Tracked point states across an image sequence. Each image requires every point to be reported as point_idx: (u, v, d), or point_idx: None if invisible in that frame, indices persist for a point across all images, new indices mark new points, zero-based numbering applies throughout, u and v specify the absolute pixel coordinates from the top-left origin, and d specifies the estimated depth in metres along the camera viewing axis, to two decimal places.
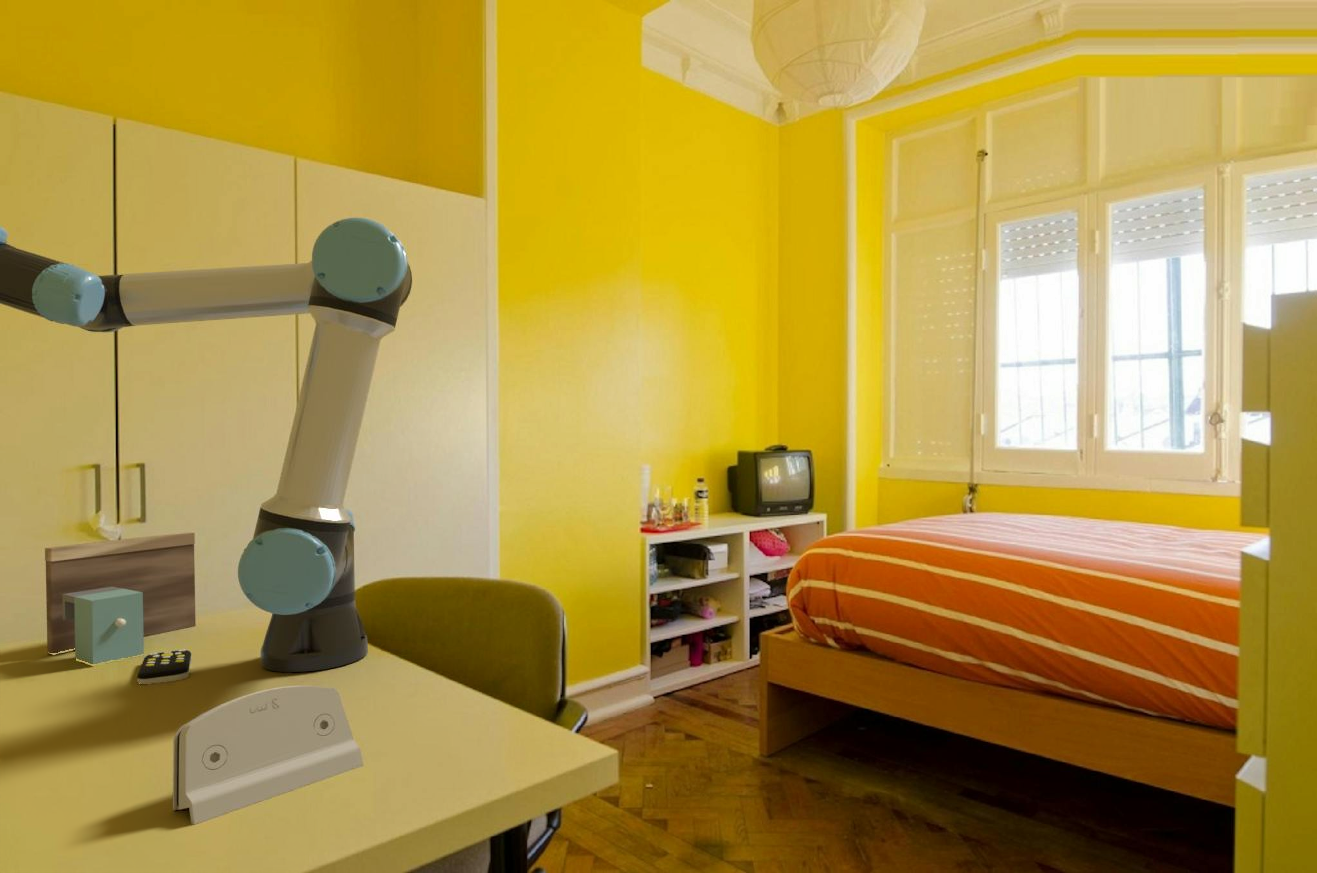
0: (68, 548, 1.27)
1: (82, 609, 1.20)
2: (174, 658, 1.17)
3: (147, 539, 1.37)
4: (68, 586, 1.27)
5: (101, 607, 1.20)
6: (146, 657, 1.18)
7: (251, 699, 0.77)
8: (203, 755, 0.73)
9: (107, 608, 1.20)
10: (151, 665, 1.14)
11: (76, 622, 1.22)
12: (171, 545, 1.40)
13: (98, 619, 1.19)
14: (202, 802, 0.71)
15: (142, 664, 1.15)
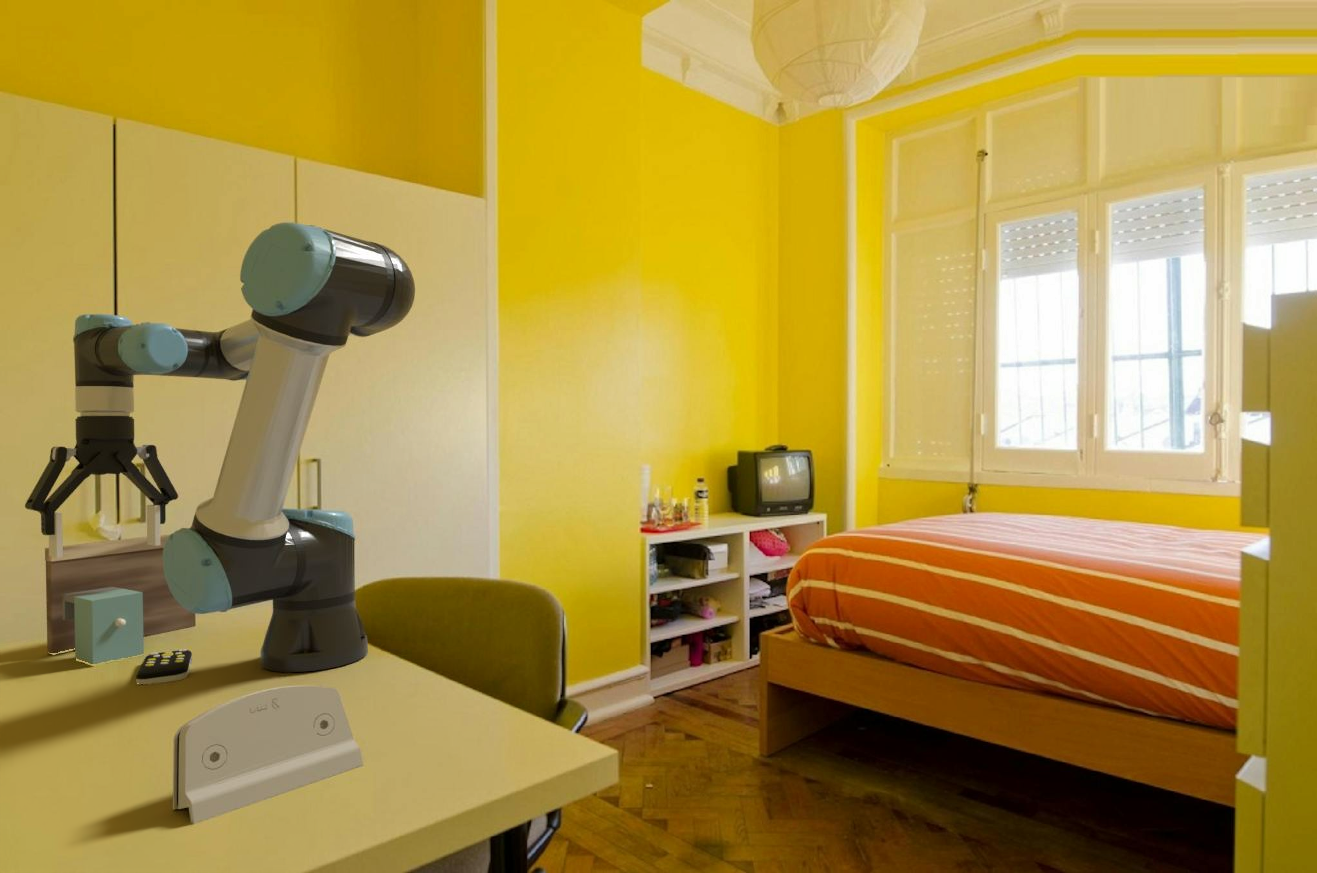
0: (68, 548, 1.27)
1: (82, 609, 1.20)
2: (174, 658, 1.17)
3: None
4: (68, 586, 1.27)
5: (101, 607, 1.20)
6: (147, 657, 1.18)
7: (251, 699, 0.77)
8: (202, 755, 0.73)
9: (107, 608, 1.20)
10: (150, 665, 1.14)
11: (76, 622, 1.22)
12: None
13: (98, 619, 1.19)
14: (202, 802, 0.71)
15: (142, 664, 1.15)
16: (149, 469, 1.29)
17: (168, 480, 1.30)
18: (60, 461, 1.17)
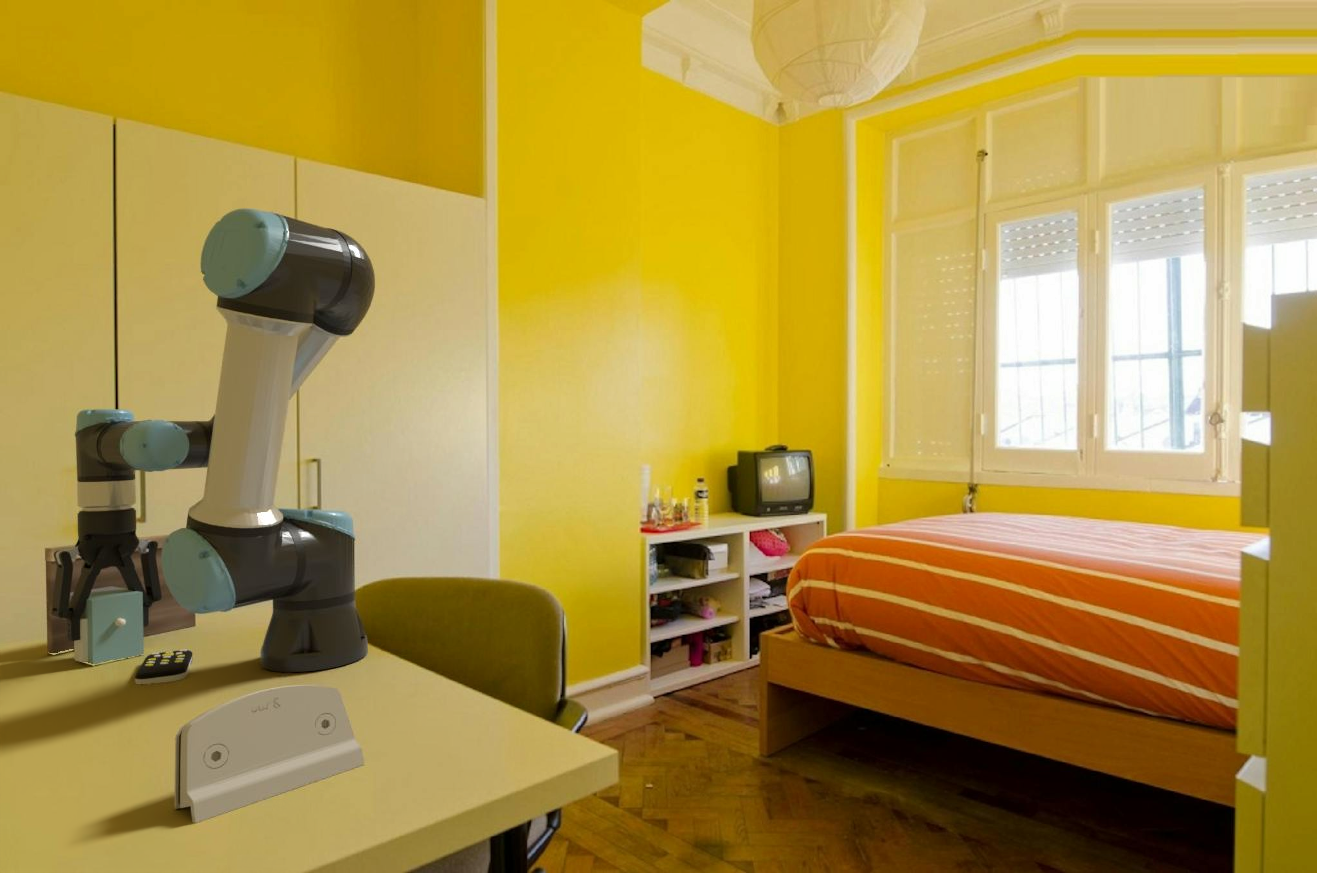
0: (68, 548, 1.27)
1: None
2: (174, 658, 1.17)
3: (147, 539, 1.37)
4: None
5: (101, 607, 1.20)
6: (147, 657, 1.18)
7: (252, 698, 0.78)
8: (204, 754, 0.73)
9: (107, 608, 1.20)
10: (150, 665, 1.14)
11: None
12: None
13: (98, 619, 1.19)
14: (203, 801, 0.71)
15: (142, 664, 1.15)
16: (143, 565, 1.28)
17: (157, 580, 1.28)
18: (67, 566, 1.18)
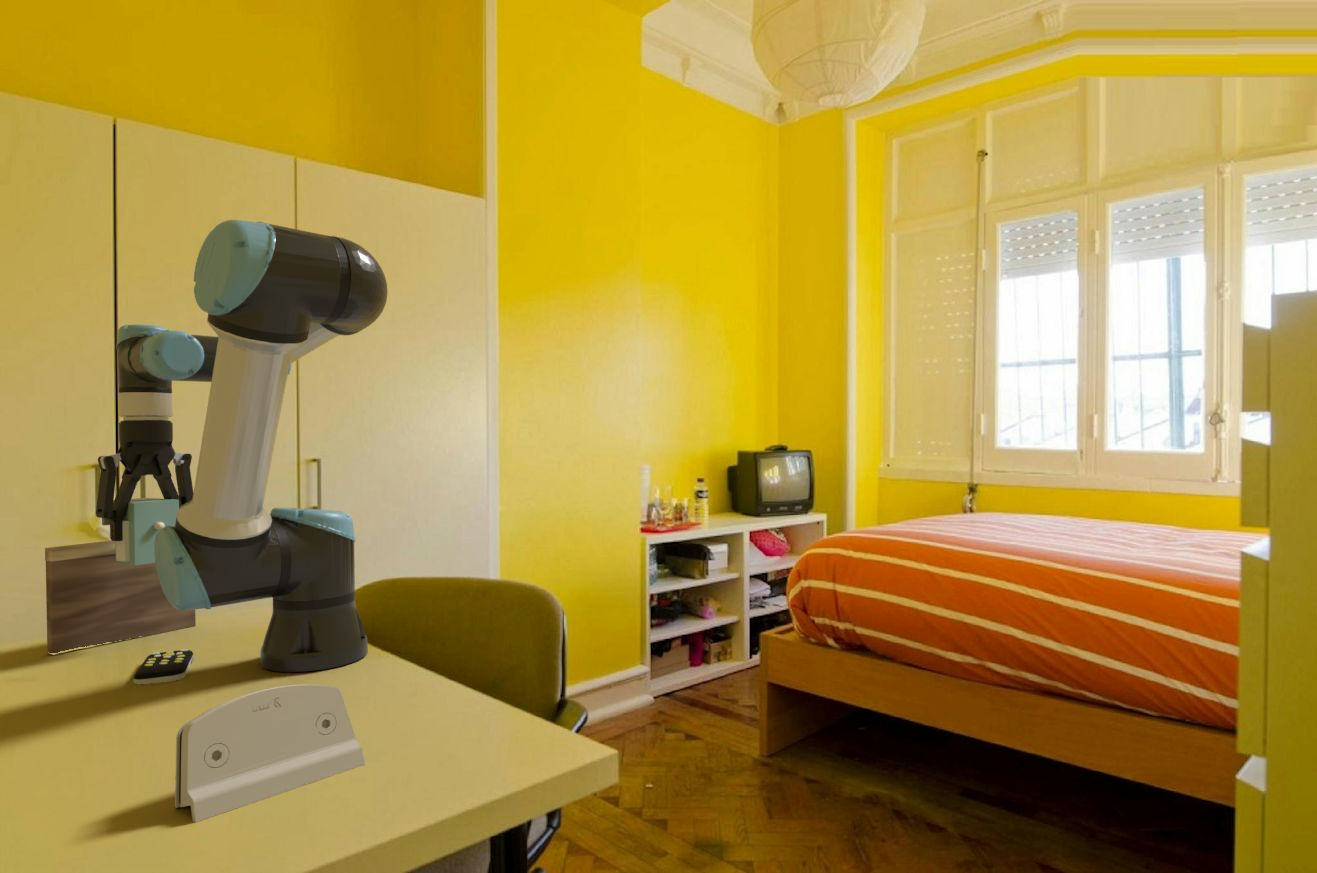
0: (68, 548, 1.27)
1: None
2: (174, 658, 1.17)
3: None
4: (68, 586, 1.27)
5: (142, 510, 1.27)
6: (148, 656, 1.19)
7: (253, 698, 0.78)
8: (204, 753, 0.73)
9: (147, 511, 1.28)
10: (149, 665, 1.14)
11: None
12: None
13: (140, 521, 1.27)
14: (203, 800, 0.71)
15: (142, 664, 1.15)
16: (177, 476, 1.36)
17: (191, 490, 1.36)
18: (111, 469, 1.25)
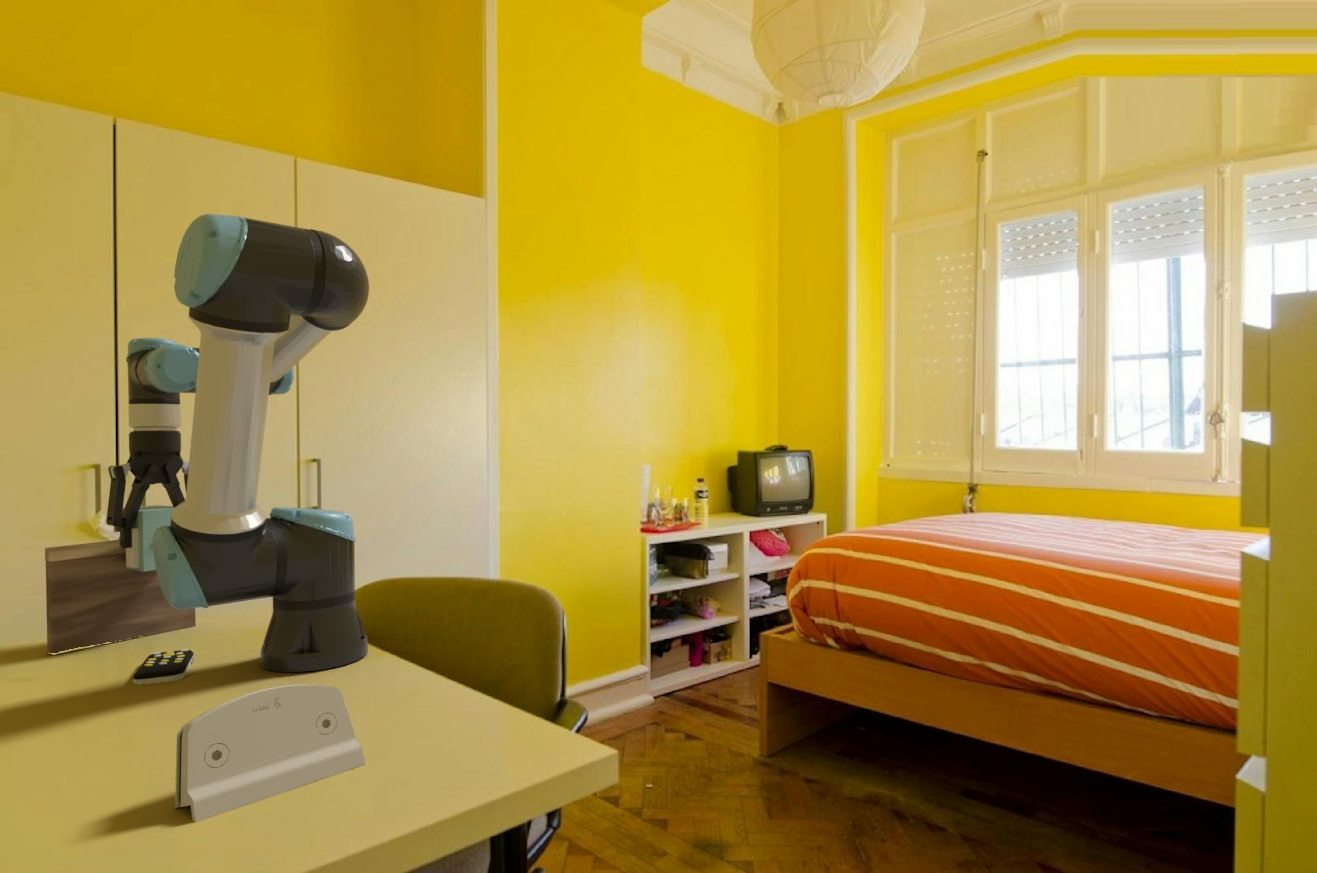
0: (68, 548, 1.27)
1: None
2: (174, 658, 1.17)
3: None
4: (68, 586, 1.27)
5: (150, 518, 1.31)
6: (148, 656, 1.19)
7: (253, 698, 0.78)
8: (204, 753, 0.73)
9: (156, 519, 1.32)
10: (149, 665, 1.14)
11: None
12: None
13: (148, 529, 1.31)
14: (203, 800, 0.71)
15: (142, 664, 1.15)
16: (186, 485, 1.40)
17: None
18: (121, 479, 1.29)
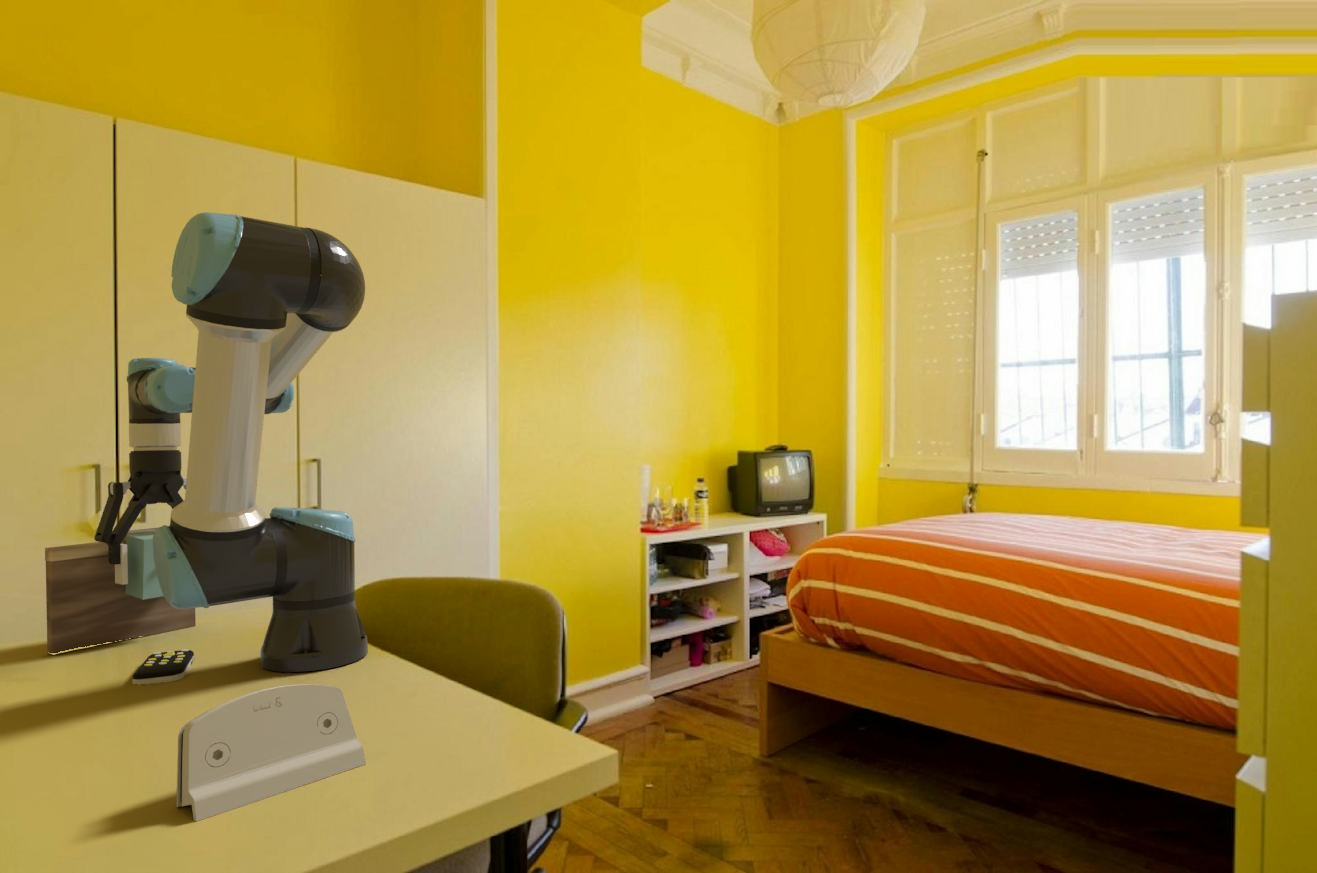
0: (68, 548, 1.27)
1: (134, 547, 1.32)
2: (174, 658, 1.17)
3: None
4: (68, 586, 1.27)
5: (151, 546, 1.31)
6: (149, 656, 1.19)
7: (254, 697, 0.78)
8: (206, 753, 0.73)
9: None
10: (149, 665, 1.14)
11: (127, 558, 1.33)
12: None
13: (149, 557, 1.31)
14: (204, 799, 0.71)
15: (142, 664, 1.15)
16: None
17: None
18: (118, 495, 1.29)
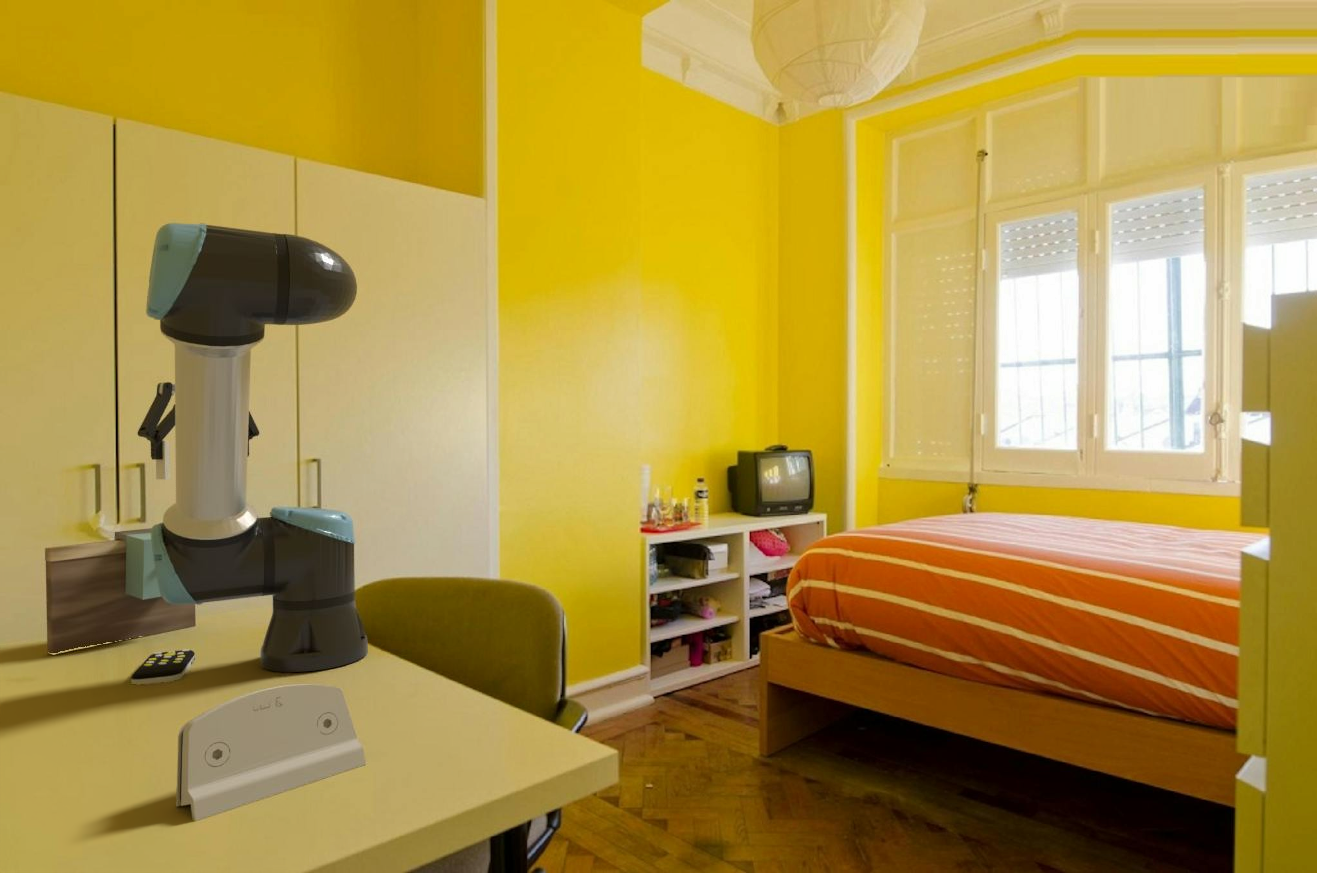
0: (68, 548, 1.27)
1: (134, 547, 1.32)
2: (174, 658, 1.17)
3: None
4: (68, 586, 1.27)
5: (151, 546, 1.31)
6: (149, 656, 1.19)
7: (254, 697, 0.78)
8: (205, 752, 0.74)
9: None
10: (148, 665, 1.14)
11: (127, 558, 1.33)
12: None
13: (149, 557, 1.31)
14: (203, 799, 0.71)
15: None
16: None
17: (251, 418, 1.46)
18: (167, 395, 1.33)
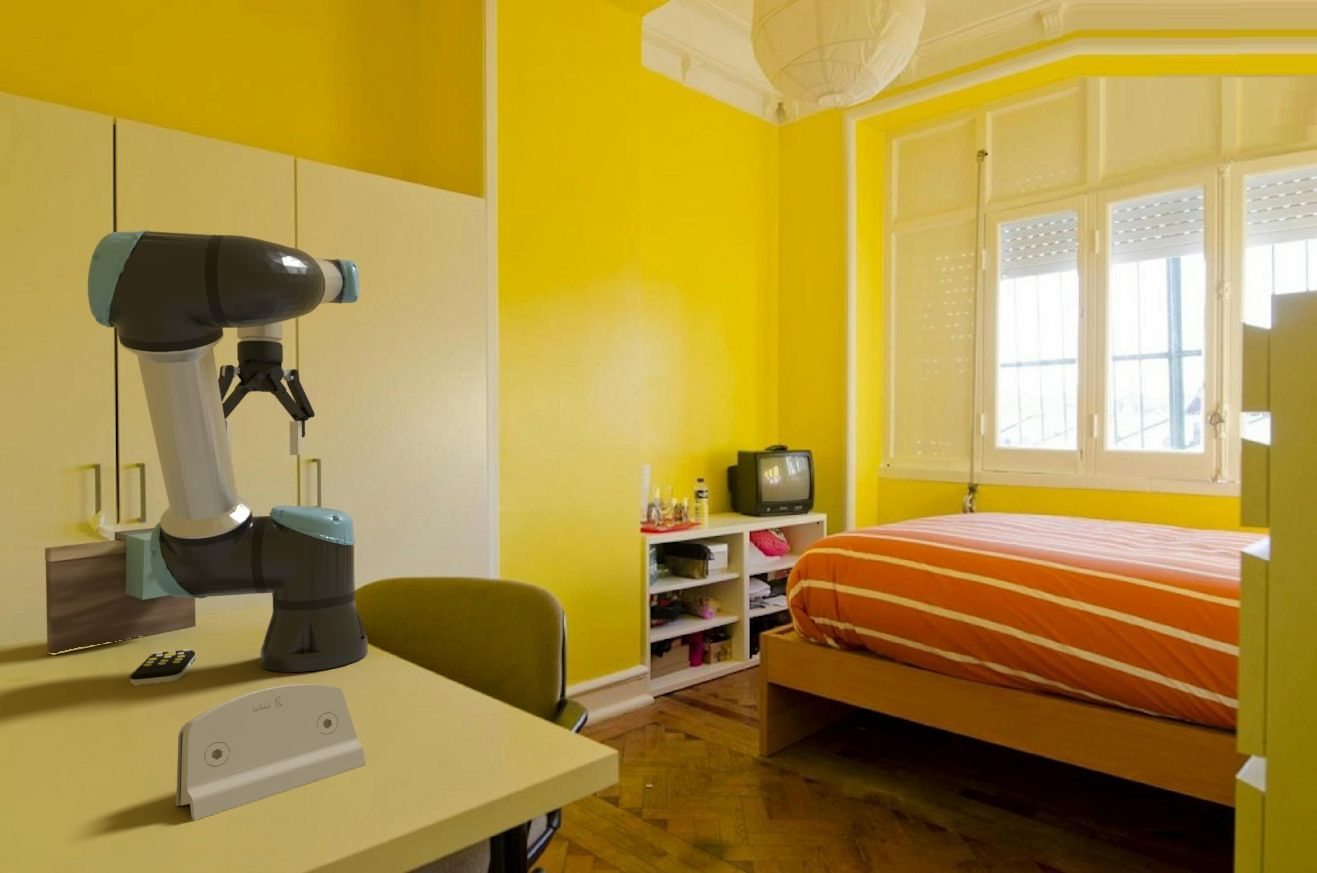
0: (68, 548, 1.27)
1: (134, 547, 1.32)
2: (174, 658, 1.17)
3: None
4: (68, 586, 1.27)
5: None
6: (150, 656, 1.19)
7: (254, 697, 0.78)
8: (205, 752, 0.74)
9: None
10: (148, 665, 1.14)
11: (127, 558, 1.33)
12: None
13: (149, 557, 1.31)
14: (203, 798, 0.71)
15: None
16: (291, 390, 1.52)
17: (307, 400, 1.52)
18: (229, 377, 1.39)
